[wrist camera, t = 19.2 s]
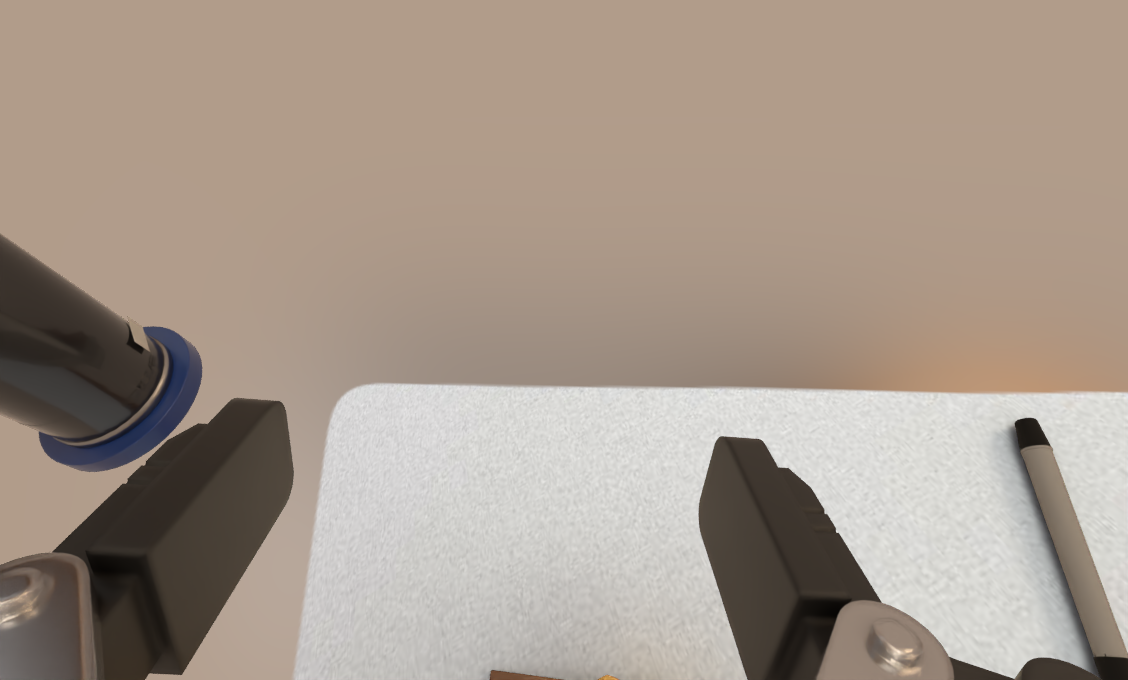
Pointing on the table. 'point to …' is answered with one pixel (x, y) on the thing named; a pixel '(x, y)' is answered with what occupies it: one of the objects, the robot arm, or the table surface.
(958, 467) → the table surface
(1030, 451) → the pen
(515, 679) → the brown leather mat
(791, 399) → the table surface
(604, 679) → the rubber stamp
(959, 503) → the table surface
